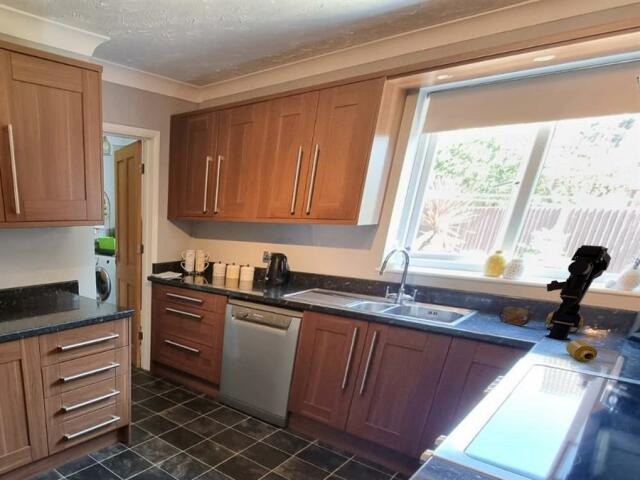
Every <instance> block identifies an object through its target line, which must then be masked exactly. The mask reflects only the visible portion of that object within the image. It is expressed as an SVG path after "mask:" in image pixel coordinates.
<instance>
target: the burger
mask: <svg viewBox="0 0 640 480" xmlns="http://www.w3.org/2000/svg"><path fill="white" fill-rule="evenodd" d="M553 313H554V311H551V312H549V313H548V316H547V317H546V318H545V321H544V328H546V329H548V330H551V329H552V327H553V325H554V324H552V323H550V321H551V318H552V315H553ZM583 321H584V316H583V315H582V314H581V320H580V323H579V326H578V327H572V328H571V330H570V332H569V333H576V332H578V331H579V330H580V329H581V328H582V327H583V324H584V322H583ZM557 322H560V321H557ZM563 323H566V322H563ZM569 324H574V323H569Z"/></svg>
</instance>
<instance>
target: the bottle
mask: <svg viewBox="0 0 640 480" xmlns="http://www.w3.org/2000/svg"><path fill="white" fill-rule="evenodd" d="M565 350H566V352H567V353H568V354H569V355H570V356H572V358H574V359H575V360H576V361H579V362H584V363H586V362H590V361H593V360H594V359H595V358H597V355H598V351H597V349H596V347H594V346H592V345H591V344H589V343H588V342H586V341H585V340H582V339H575V340H571V341H569V342H568V343H567V345H566V346H565Z"/></svg>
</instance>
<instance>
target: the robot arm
mask: <svg viewBox="0 0 640 480" xmlns="http://www.w3.org/2000/svg"><path fill="white" fill-rule="evenodd" d="M608 251H609V248H608V247H604V246H603V245H590V244H581V246H580V247H578V248H577V249H576V250H575V252H574V254H573V256H572V257H571V259H570V261H571V263H570V264H569V265H568V267H567V272H568V273H569V276H568V278H566V279H565V281H560V282H559V281H558V280H557V279H554V280H551V282H550V283H546V292H553V291H559V290H561V291H560V292H559V298H560V299H561V300H562V302H561V303H560V305H559V306H558V308H557V309H555V310H554V311H553V312H554V313H553V315H552V318H551V321H550V323H552V324H554V325H553V327H552V329H550V331H549V333H548V334H545V335H544V337H547V338H552V339H555V340H560V341H562V340H563V341H566V340H571V337H569V335H570V333H571V332H570V330H571V328H572V327H578V326H579V323H580V320H581V315H582V314H581V303H582V301H583V300H584V297H585V295H586V294H587V292H588V290H589V289H590V287H591V286H592V283H593V281H594V280H596V279H597V278H599V277H601V276H602V275H603V274H604V272H606V271H607V270H608V268H609V267H610V264H611V260H612V256H611V255H610V254H609V253H608ZM557 321H560V322H557ZM563 322H566V323H563ZM569 323H574V324H569Z"/></svg>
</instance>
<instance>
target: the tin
mask: <svg viewBox="0 0 640 480" xmlns="http://www.w3.org/2000/svg"><path fill="white" fill-rule="evenodd" d="M532 317H533V314H532V312H531V310H529V309H527V308H526V309H525V308H520V307H516V306H511V305H508V306H505V307H503V308H502V309H500V311H499V314H498V318H499V321H501V322H503V323H505V324H511V325H514V326H526V325H527V324H529V323H530V321H531V319H532Z"/></svg>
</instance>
